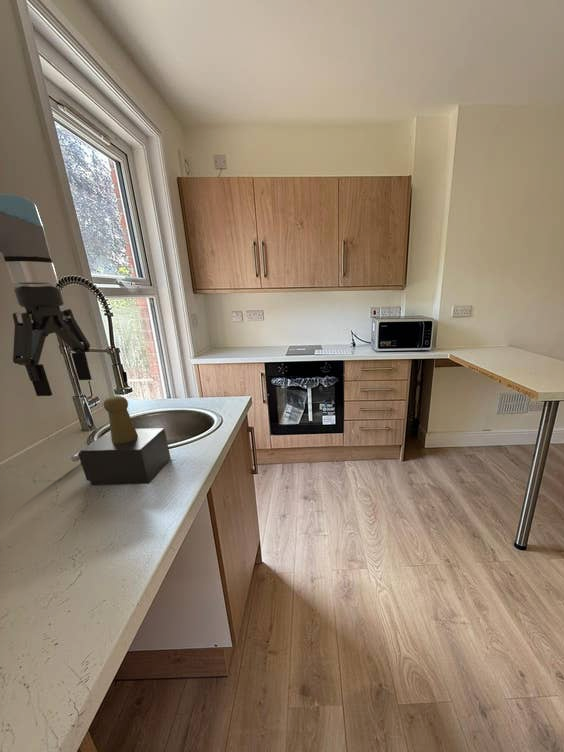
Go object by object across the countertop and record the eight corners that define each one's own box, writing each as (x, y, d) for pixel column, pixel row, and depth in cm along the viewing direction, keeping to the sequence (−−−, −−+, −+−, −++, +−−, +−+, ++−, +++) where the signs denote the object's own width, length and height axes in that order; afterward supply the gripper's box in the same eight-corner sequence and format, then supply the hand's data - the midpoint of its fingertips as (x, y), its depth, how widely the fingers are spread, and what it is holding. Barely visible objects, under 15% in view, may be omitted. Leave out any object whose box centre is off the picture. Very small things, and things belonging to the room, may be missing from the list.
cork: (139, 439, 89) (129, 398, 85) (113, 445, 86) (100, 403, 81) (136, 432, 93) (126, 392, 89) (110, 437, 90) (99, 397, 86)
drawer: (69, 481, 87) (59, 453, 84) (99, 458, 99) (91, 433, 96) (140, 479, 87) (133, 451, 84) (161, 457, 99) (155, 432, 96)
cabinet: (91, 485, 87) (79, 450, 83) (120, 460, 100) (111, 429, 96) (149, 484, 87) (140, 449, 83) (171, 459, 100) (164, 428, 96)
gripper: (60, 286, 82) (84, 374, 91) (-41, 285, 59) (3, 404, 68) (92, 286, 83) (113, 374, 91) (3, 285, 59) (42, 403, 68)
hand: (66, 387), depth 79 cm, fingers open, 13 cm apart
